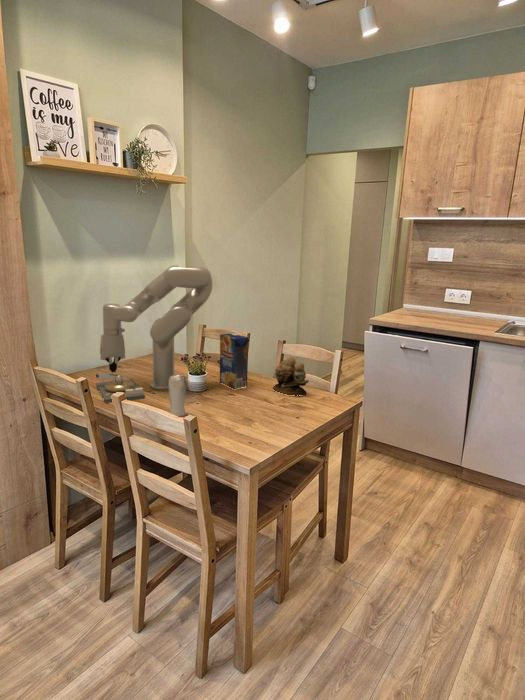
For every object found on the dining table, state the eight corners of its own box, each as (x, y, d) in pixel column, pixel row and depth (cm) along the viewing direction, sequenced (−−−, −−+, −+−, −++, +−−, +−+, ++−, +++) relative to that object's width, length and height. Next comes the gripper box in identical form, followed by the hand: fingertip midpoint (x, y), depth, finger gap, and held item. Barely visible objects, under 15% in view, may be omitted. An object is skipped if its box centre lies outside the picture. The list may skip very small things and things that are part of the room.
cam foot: (139, 385, 199) (138, 373, 198) (123, 393, 188) (123, 381, 186) (105, 381, 204) (104, 369, 202) (88, 388, 192) (87, 376, 191)
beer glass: (188, 411, 176) (188, 375, 172) (184, 418, 169) (183, 380, 165) (171, 410, 176) (171, 374, 173) (166, 417, 169) (165, 379, 166)
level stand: (132, 382, 209) (131, 374, 208) (144, 398, 189) (144, 389, 188) (96, 386, 202) (95, 378, 201) (105, 403, 181) (105, 394, 180)
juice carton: (247, 387, 207) (248, 337, 201) (234, 390, 202) (235, 339, 197) (232, 381, 216) (233, 332, 210) (219, 383, 211) (220, 334, 206)
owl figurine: (313, 393, 203) (316, 357, 199) (299, 400, 194) (301, 362, 190) (281, 384, 213) (283, 350, 209) (266, 390, 204) (268, 354, 200)
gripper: (127, 329, 203) (127, 368, 208) (93, 330, 196) (94, 370, 200) (131, 332, 197) (132, 372, 201) (96, 334, 190) (97, 375, 194)
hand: (113, 371), depth 201 cm, fingers closed
